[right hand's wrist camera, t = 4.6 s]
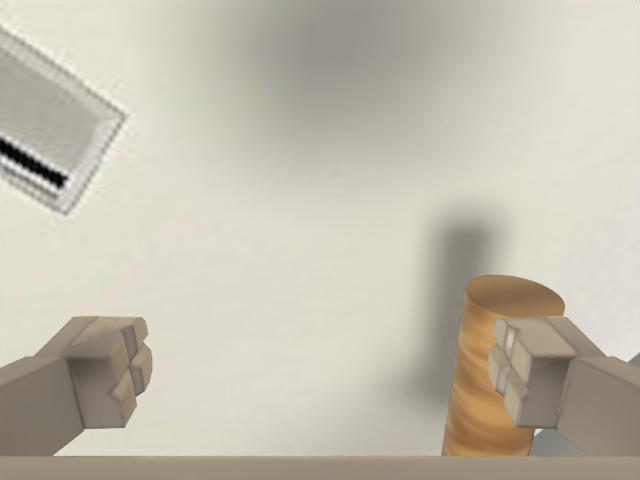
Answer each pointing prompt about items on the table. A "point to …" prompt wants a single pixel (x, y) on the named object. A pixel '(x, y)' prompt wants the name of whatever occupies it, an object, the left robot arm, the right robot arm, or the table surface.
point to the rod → (472, 368)
